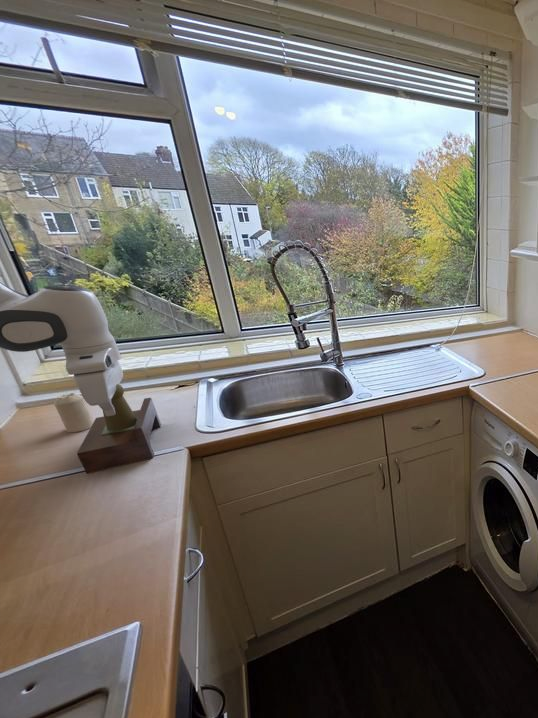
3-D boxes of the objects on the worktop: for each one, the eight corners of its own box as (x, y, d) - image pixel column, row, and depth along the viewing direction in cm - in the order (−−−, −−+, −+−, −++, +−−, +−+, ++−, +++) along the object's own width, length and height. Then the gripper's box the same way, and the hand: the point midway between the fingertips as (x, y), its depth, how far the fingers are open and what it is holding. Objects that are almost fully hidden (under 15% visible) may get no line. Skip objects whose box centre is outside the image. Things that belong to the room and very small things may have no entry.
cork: (137, 416, 107) (122, 378, 102) (139, 425, 103) (124, 385, 98) (106, 424, 103) (89, 384, 98) (107, 433, 99) (89, 392, 95)
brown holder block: (86, 473, 93) (71, 442, 90) (103, 435, 108) (91, 407, 105) (153, 458, 100) (141, 428, 96) (161, 424, 115) (151, 397, 111)
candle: (92, 420, 116) (78, 388, 112) (97, 426, 113) (82, 394, 109) (64, 428, 112) (49, 395, 108) (69, 434, 109) (53, 401, 105)
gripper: (85, 344, 102) (106, 394, 107) (63, 370, 86) (88, 427, 92) (119, 341, 105) (137, 389, 110) (103, 365, 89) (125, 420, 95)
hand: (115, 407), depth 101 cm, fingers open, 8 cm apart
